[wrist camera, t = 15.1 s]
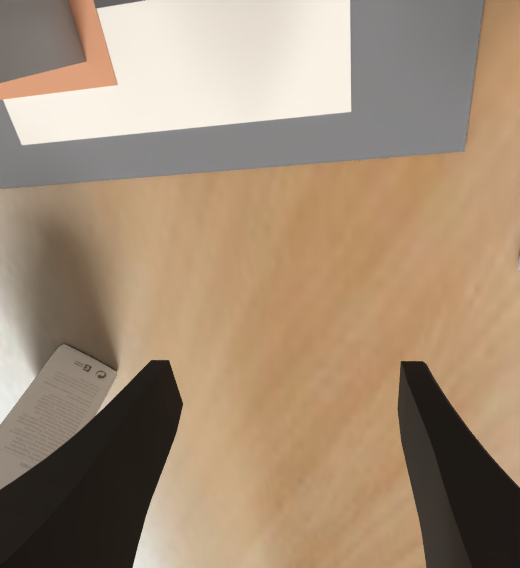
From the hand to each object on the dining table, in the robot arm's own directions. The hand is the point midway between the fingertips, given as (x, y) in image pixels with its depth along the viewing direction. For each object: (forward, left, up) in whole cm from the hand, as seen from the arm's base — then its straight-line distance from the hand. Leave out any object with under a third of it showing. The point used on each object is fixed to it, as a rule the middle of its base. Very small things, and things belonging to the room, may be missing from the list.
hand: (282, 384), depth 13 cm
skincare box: (+16, +10, -10) cm, 21 cm away
